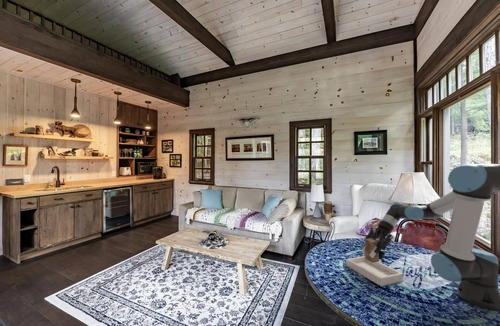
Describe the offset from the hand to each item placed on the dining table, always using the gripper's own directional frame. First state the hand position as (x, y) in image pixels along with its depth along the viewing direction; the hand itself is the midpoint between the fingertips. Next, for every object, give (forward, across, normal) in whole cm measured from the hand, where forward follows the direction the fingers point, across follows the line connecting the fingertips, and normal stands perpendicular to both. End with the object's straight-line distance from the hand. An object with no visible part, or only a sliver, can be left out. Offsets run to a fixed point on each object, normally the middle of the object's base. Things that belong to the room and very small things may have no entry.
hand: (366, 254), depth 124 cm
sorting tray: (+5, -1, -10) cm, 11 cm away
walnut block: (0, 0, -5) cm, 5 cm away
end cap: (-10, +16, -26) cm, 32 cm away
